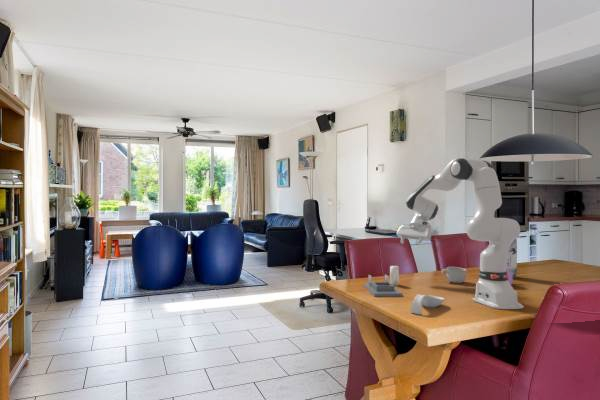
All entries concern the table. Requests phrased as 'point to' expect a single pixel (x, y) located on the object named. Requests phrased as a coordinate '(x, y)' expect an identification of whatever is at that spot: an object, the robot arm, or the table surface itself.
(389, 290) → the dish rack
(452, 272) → the teacup
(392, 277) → the white rectangular block
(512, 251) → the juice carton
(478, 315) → the table surface
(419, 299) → the grey curved piece
